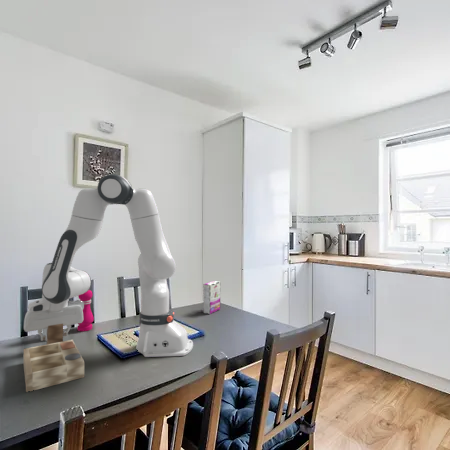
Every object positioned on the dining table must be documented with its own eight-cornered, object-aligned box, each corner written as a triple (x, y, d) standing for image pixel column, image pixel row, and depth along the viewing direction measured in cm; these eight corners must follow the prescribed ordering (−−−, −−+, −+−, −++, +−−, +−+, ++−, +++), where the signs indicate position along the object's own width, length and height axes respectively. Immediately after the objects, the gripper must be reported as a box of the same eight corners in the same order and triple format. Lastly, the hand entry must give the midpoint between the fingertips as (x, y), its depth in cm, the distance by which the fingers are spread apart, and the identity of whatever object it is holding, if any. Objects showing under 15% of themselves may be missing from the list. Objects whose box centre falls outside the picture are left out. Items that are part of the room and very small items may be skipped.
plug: (60, 345, 121) (61, 318, 121) (62, 349, 116) (63, 321, 116) (46, 348, 118) (47, 320, 118) (47, 352, 114) (48, 323, 114)
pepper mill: (86, 332, 135) (87, 288, 135) (72, 331, 136) (73, 287, 136) (96, 327, 142) (97, 285, 142) (83, 325, 143) (83, 284, 143)
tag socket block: (72, 352, 114) (72, 338, 114) (84, 377, 96) (84, 360, 96) (23, 363, 105) (23, 348, 105) (26, 392, 87) (26, 374, 87)
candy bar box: (213, 308, 177) (213, 280, 177) (220, 309, 174) (221, 281, 174) (202, 313, 167) (203, 283, 167) (210, 314, 165) (210, 284, 165)
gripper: (82, 297, 126) (81, 330, 126) (23, 304, 114) (23, 341, 114) (85, 300, 120) (85, 335, 120) (24, 308, 108) (23, 346, 108)
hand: (54, 338), depth 117 cm, fingers open, 6 cm apart
